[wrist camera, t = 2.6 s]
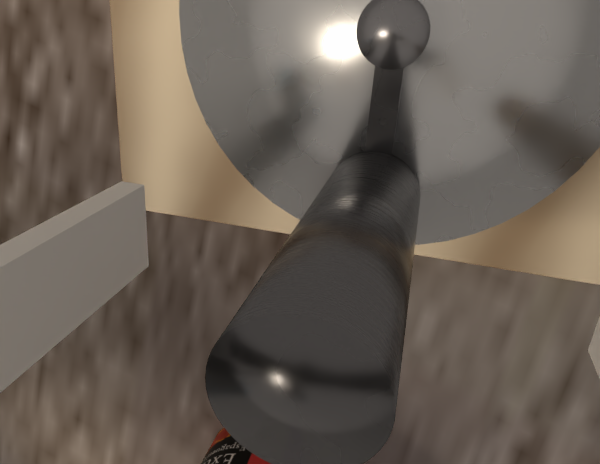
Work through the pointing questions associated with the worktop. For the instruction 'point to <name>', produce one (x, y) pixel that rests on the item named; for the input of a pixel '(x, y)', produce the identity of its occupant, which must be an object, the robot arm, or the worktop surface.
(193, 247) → the worktop surface
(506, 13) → the dial
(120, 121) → the dial board
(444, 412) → the worktop surface
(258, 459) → the canned food
